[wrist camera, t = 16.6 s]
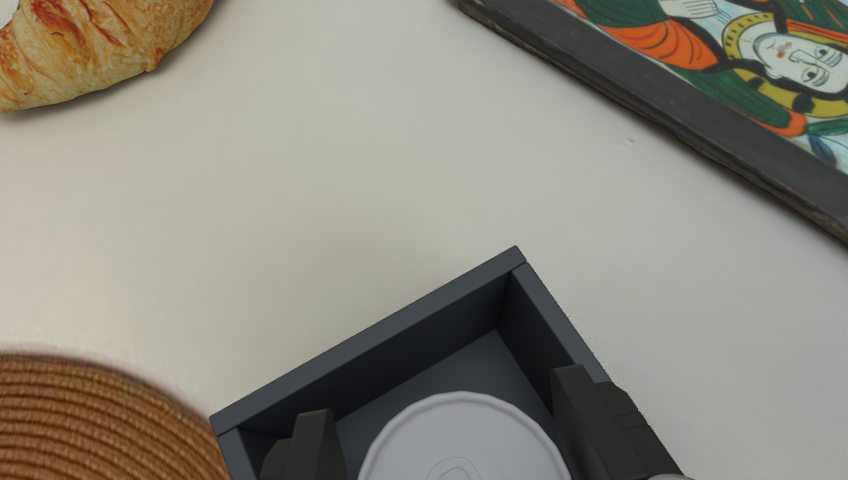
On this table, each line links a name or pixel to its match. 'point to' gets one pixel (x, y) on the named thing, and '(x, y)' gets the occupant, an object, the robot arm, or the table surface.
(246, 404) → the bin
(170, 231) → the table surface
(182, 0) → the croissant
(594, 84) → the painting
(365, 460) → the beverage can
